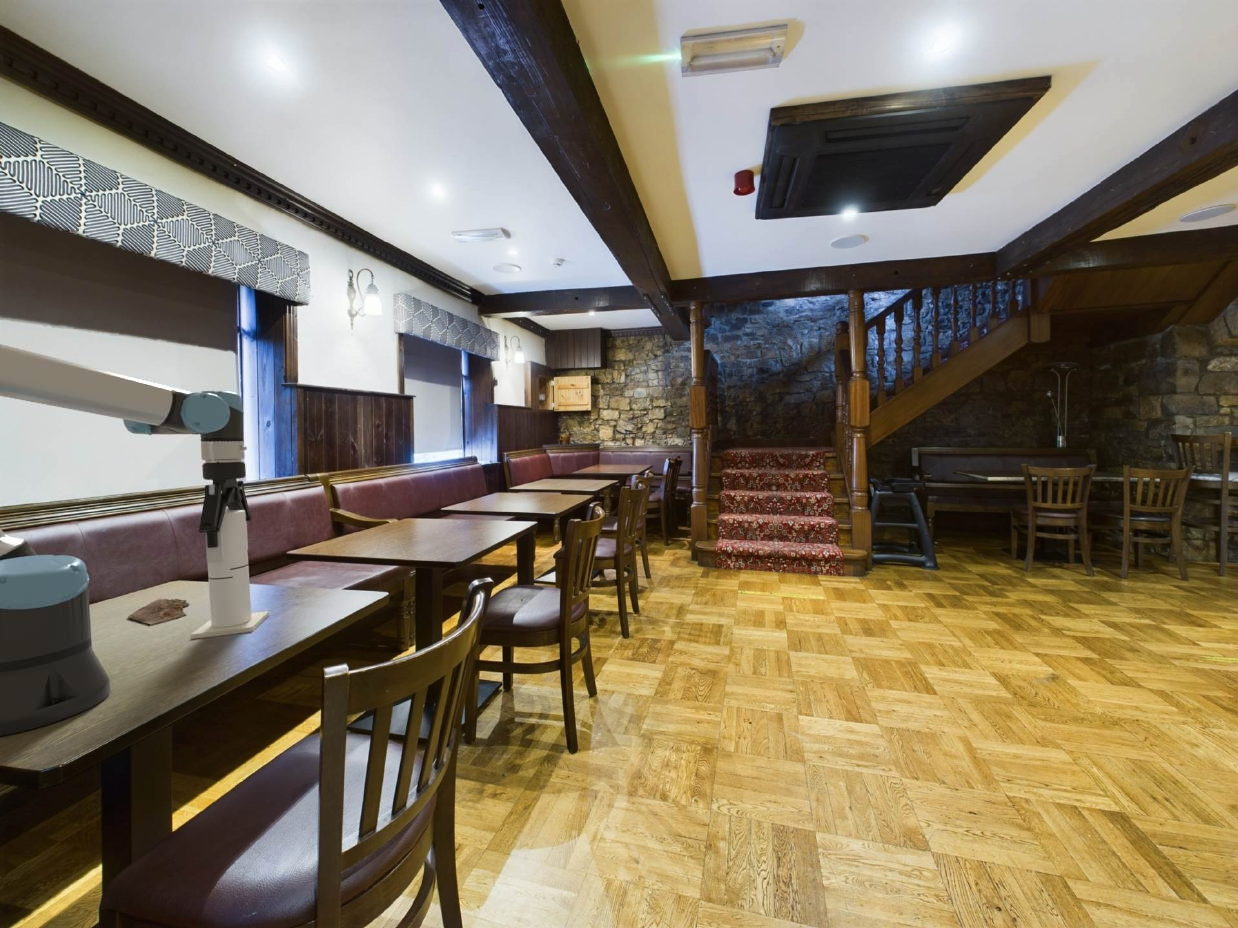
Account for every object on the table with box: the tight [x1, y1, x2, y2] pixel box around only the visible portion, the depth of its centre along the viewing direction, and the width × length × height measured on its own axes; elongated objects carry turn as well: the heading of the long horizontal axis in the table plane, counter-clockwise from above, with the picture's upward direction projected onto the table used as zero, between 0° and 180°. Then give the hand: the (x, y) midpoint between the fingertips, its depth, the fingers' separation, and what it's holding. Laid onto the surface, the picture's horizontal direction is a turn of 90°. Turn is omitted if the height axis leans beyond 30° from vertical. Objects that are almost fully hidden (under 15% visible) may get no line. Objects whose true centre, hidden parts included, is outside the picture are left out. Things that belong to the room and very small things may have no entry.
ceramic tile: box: [190, 610, 270, 640], centre depth 112 cm, size 11×11×1 cm
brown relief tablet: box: [127, 598, 190, 627], centre depth 123 cm, size 26×11×1 cm, turn 38°
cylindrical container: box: [207, 509, 252, 628], centre depth 111 cm, size 7×7×25 cm
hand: (228, 555), depth 111 cm, fingers open, 13 cm apart
